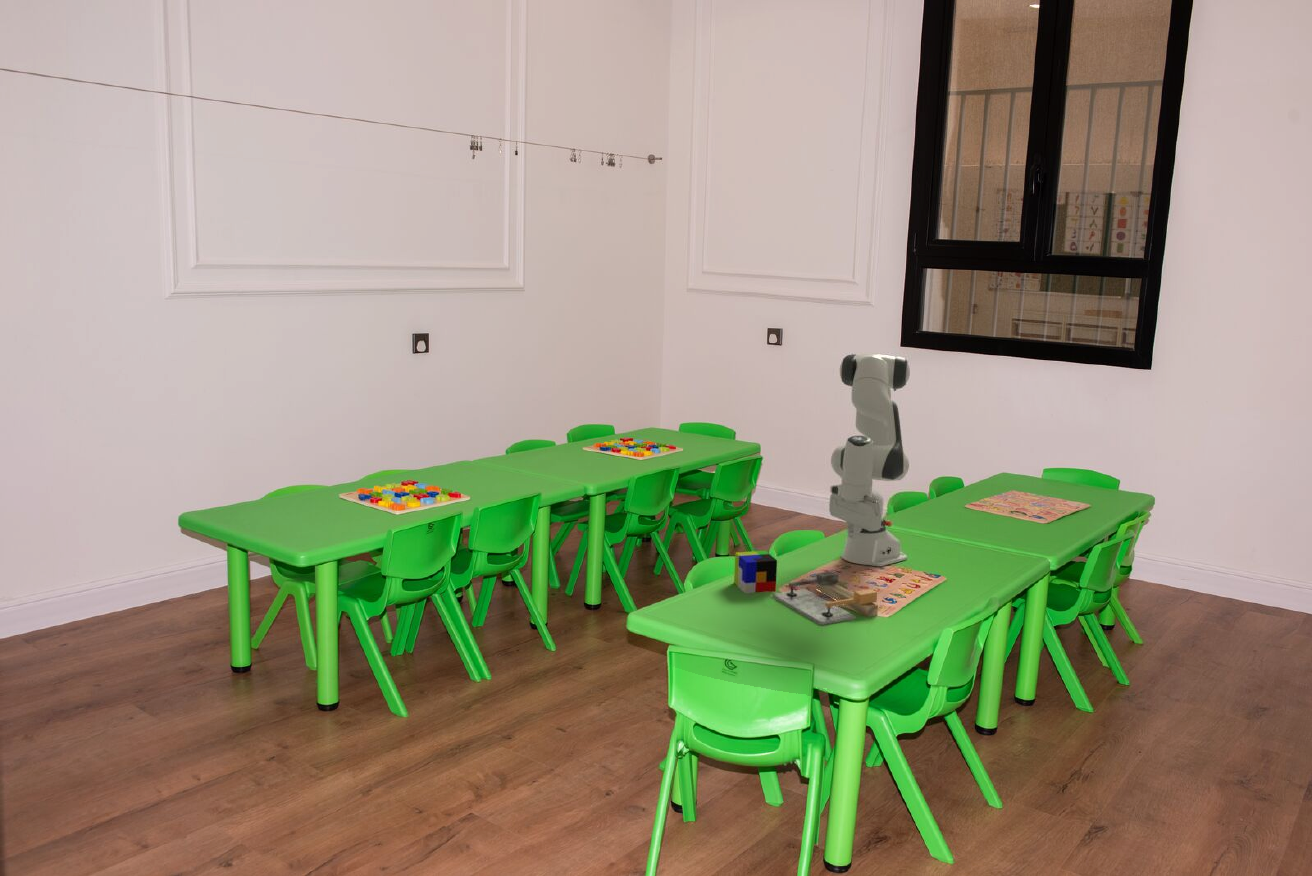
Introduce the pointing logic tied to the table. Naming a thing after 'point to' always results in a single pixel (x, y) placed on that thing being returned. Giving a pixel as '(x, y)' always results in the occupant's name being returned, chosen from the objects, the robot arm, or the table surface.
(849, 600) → the sliding leg
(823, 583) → the dividers rail
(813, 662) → the table surface
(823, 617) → the bolt plate
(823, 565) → the table surface
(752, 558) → the puzzle toy
